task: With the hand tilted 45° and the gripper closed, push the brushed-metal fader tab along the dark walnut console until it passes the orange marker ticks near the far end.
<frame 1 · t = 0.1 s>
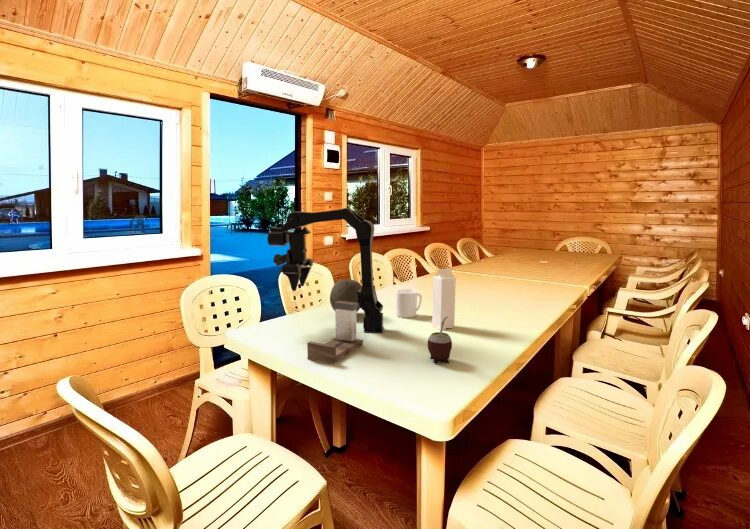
hand: (298, 288, 161), 15 cm above the table, tool pointing down, fingers open, 9 cm apart
mate gourd: (440, 362, 128), on the table
dark rounded lump: (347, 315, 179), on the table
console: (336, 352, 136), on the table
fader tab: (345, 320, 140), point 8 cm above the table, slide at 0.0 cm
milk: (443, 327, 163), on the table
mug: (408, 316, 179), on the table
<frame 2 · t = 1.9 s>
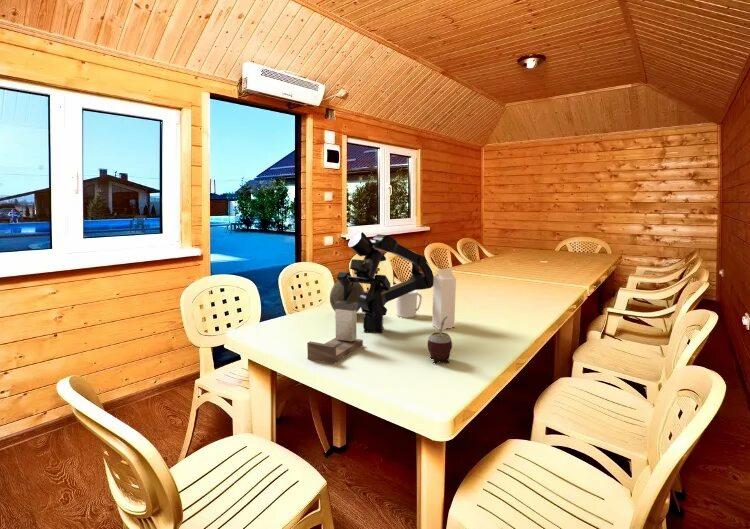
hand: (354, 301, 145), 13 cm above the table, tool tilted 45°, fingers open, 8 cm apart
nothing on the table moved.
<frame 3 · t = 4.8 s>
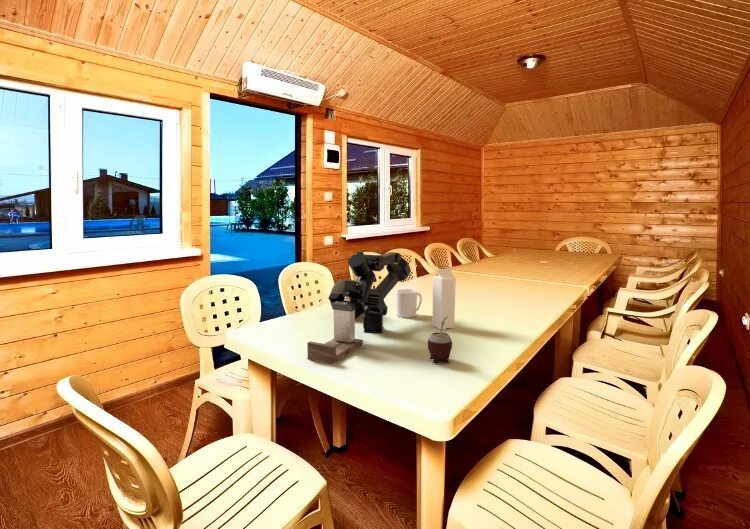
hand: (347, 324, 140), 7 cm above the table, tool tilted 45°, fingers closed, pressing on fader tab
fader tab: (344, 321, 139), point 8 cm above the table, slide at 1.1 cm, touching gripper
everything else where it was.
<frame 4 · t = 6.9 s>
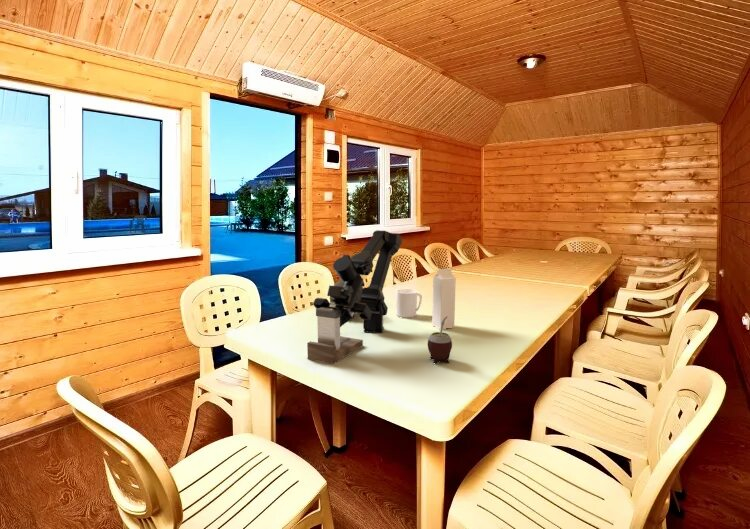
hand: (332, 331, 132), 7 cm above the table, tool tilted 45°, fingers closed, pressing on fader tab
fader tab: (328, 329, 131), point 8 cm above the table, slide at 10.2 cm, touching gripper
everything else where it was.
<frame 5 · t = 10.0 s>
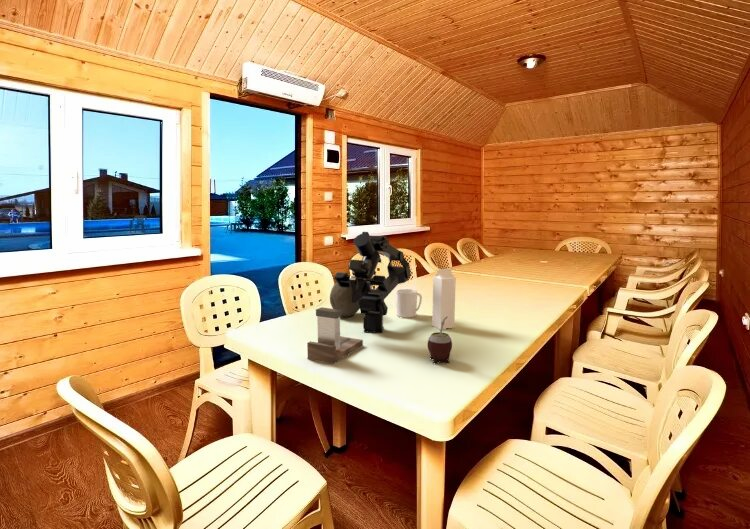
hand: (352, 302, 143), 14 cm above the table, tool tilted 45°, fingers closed
fader tab: (328, 329, 131), point 8 cm above the table, slide at 10.2 cm
everything else where it was.
at the end: fader tab slide at 10.2 cm; mate gourd moved 0.2 cm from its start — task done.
